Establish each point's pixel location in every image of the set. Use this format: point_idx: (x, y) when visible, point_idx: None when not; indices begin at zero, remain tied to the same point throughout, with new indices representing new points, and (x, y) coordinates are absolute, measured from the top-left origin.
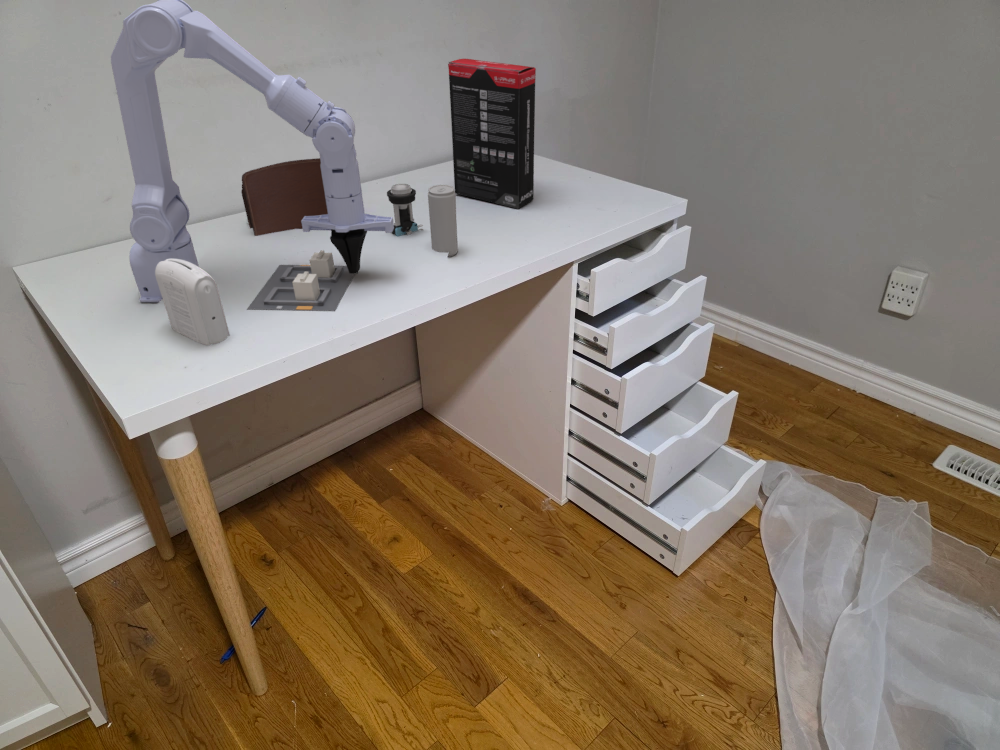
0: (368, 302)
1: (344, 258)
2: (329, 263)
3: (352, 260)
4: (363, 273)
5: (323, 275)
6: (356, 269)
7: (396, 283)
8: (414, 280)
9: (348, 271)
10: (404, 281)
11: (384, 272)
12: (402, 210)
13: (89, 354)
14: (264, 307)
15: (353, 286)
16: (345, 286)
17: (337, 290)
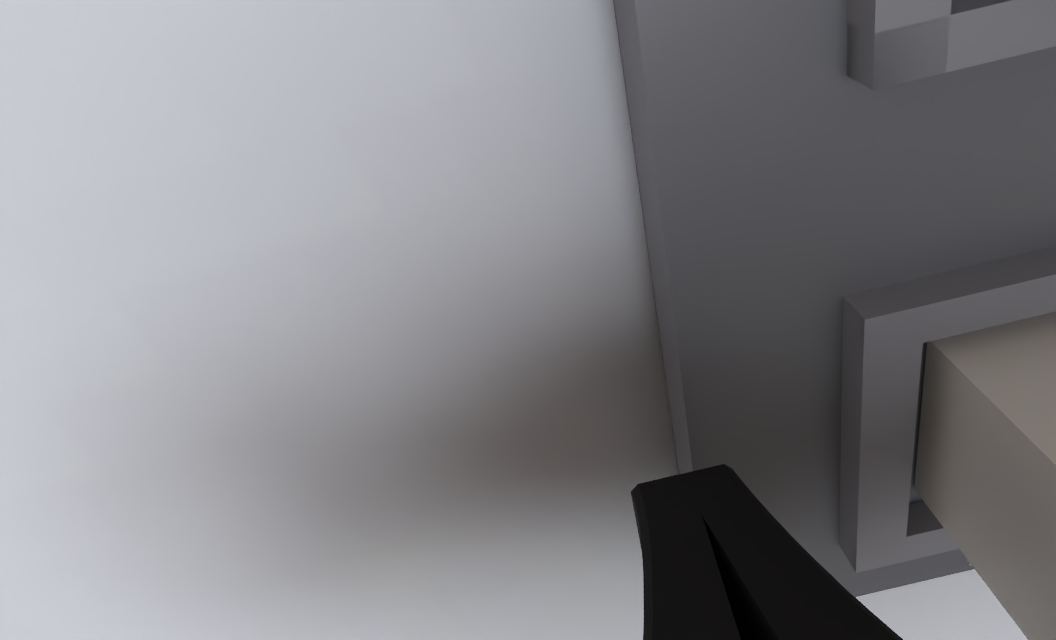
0: (287, 64)
1: (851, 619)
2: (1040, 511)
3: (714, 621)
4: None
5: (1038, 348)
6: (643, 523)
7: (245, 519)
8: (113, 605)
9: None
10: (194, 567)
11: (472, 629)
12: None
13: None
14: None
15: (649, 356)
16: (697, 247)
17: (766, 116)
